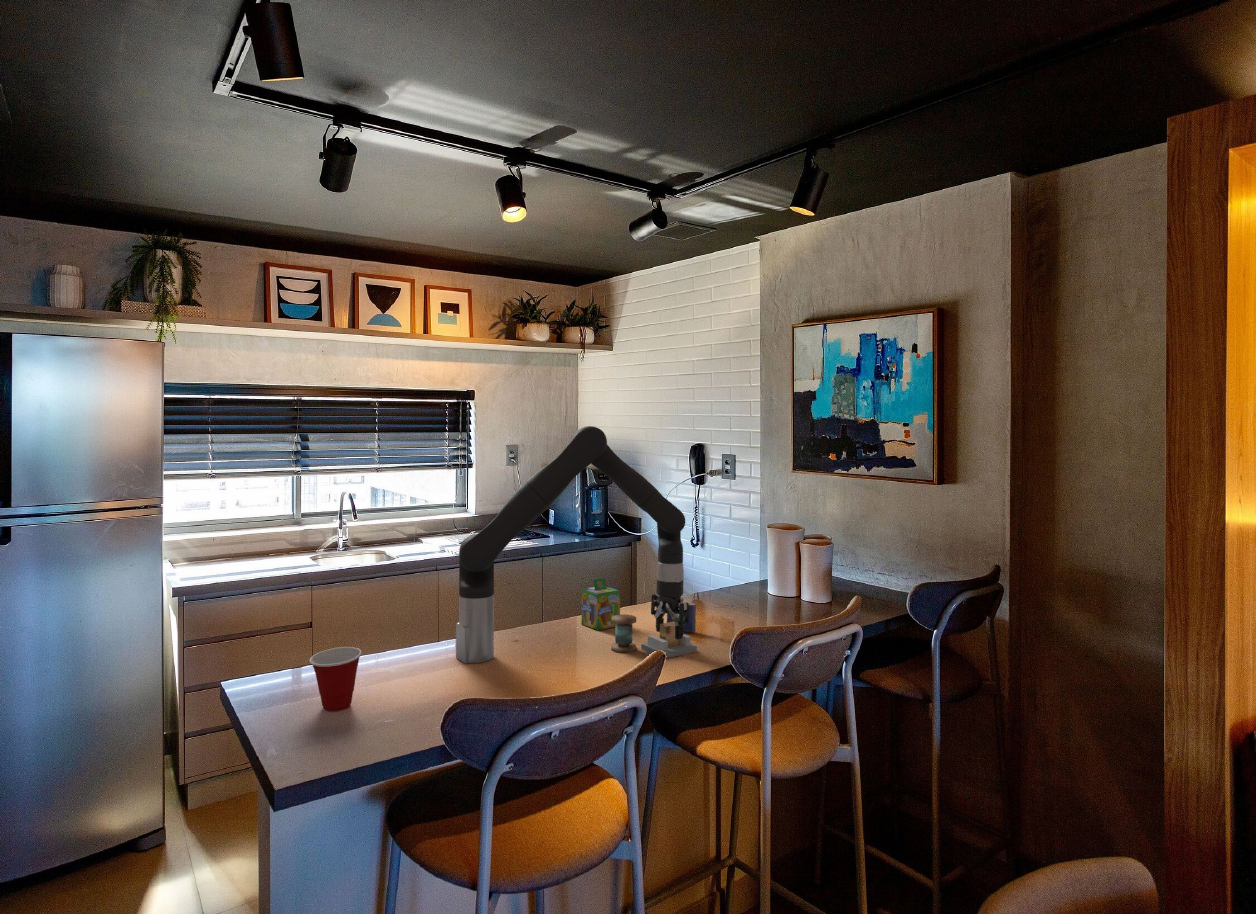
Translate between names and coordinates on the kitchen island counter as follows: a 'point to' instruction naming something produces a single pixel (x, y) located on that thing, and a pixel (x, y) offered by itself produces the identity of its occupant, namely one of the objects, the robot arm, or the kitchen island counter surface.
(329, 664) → the plastic cup
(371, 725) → the kitchen island counter surface
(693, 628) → the flask
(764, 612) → the kitchen island counter surface
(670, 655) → the grey ridged tray
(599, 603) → the chalk box
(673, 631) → the brown wooden block
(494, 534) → the robot arm
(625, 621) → the bobbin
